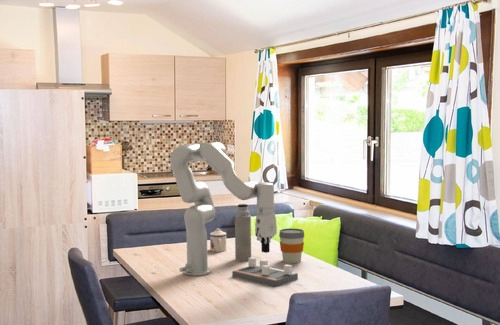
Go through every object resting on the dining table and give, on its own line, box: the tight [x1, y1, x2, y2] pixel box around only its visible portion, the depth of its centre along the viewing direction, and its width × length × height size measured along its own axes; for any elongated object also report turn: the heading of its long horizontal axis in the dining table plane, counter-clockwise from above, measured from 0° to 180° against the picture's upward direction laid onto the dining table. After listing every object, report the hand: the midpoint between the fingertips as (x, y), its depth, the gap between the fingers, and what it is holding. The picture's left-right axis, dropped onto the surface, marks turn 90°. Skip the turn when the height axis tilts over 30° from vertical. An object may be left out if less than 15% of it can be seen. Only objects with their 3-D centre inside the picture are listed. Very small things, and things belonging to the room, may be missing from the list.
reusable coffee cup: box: [278, 227, 305, 264], centre depth 316 cm, size 12×13×15 cm
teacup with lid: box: [209, 228, 228, 253], centre depth 338 cm, size 12×9×12 cm
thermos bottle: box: [234, 203, 252, 262], centre depth 318 cm, size 8×8×28 cm
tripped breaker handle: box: [262, 265, 271, 275], centre depth 280 cm, size 2×3×4 cm, turn 49°
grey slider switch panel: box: [231, 256, 299, 288], centre depth 285 cm, size 16×25×7 cm, turn 49°
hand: (265, 251), depth 279 cm, fingers closed
